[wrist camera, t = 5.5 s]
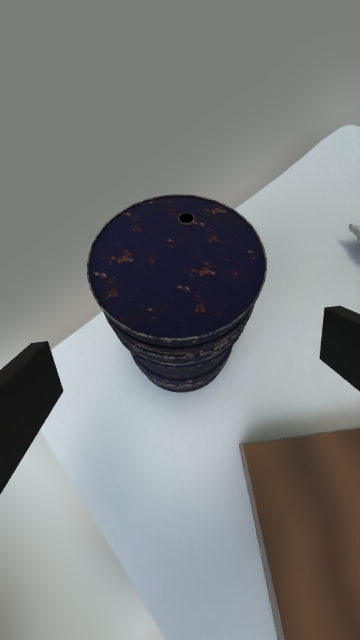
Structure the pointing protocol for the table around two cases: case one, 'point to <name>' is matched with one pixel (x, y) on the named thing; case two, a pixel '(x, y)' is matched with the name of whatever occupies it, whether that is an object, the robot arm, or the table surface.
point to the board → (309, 531)
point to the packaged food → (355, 231)
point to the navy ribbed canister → (177, 285)
